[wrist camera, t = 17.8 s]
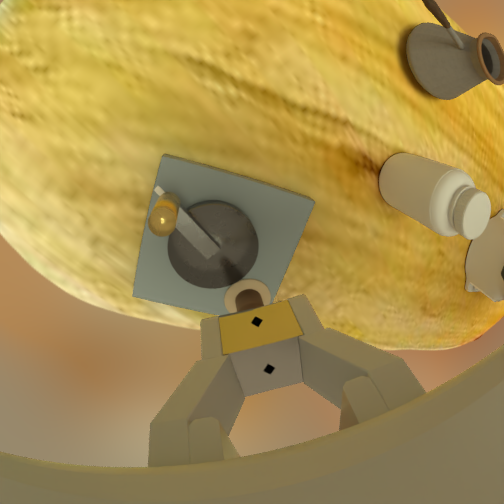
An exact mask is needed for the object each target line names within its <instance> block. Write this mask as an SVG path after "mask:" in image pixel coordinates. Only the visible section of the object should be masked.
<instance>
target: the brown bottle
mask: <svg viewBox="0 0 504 504" xmlns="http://www.w3.org/2000/svg"><path fill="white" fill-rule="evenodd" d="M235 304H236V309H237V312H239V311H243V310H248V309H252V308H257V307H261V306H264V304H263V301H262V298H261V295H260V293H259V292H258V291H256V290H253V289H246V290H243V291H241V292H240V293H238V295H237V296H236V299H235Z"/></svg>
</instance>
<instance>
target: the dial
mask: <svg viewBox="0 0 504 504" xmlns="http://www.w3.org/2000/svg"><path fill="white" fill-rule="evenodd" d="M148 227H149V229H150V231H151V232H152V233H153V234H155V235H157V236H160V237H164V236H168V235H169V239H168V247H167V248H168V256H169V260H170V263H171V265H172V267H173V268H174V270H175V271H176V273H177V274H178V275H179V276H180V277H181V278H183V279H184V280H185V281H187V282H188V283H190V284H192V285H195V286H198V287H202V288H208V289H217V288H223V287H227V286H230V285H232V284H234V283H236V282H238V281H239V280H241V279H242V278H243V277H245V276H246V275H247V274H248V273H249V271H250V270H251V269H252V267H253V266H254V264H255V262H256V259H257V256H258V250H259V242H258V237H257V233H256V231H255V228H254V226H253V224H252V222H251V220H250V219H249V217H248V216H247V215H246V214H245V213H244V212H243V211H242V210H241V209H240V208H238V207H237V206H235V205H233V204H231V203H228V202H225V201H220V200H207V201H202V202H198V203H196V204H193V205H191V206H190V207H188V208H185V207H184V206H183V205H182V204H181V203H180V199H179V197H178V196H177V195H176V194H175V193H173V192H165V193H163V194H162V195H160V197H159V198H158V200H157V202H156V204H155V206H154V208H153V210H152V212H151V214H150V216H149V218H148Z"/></svg>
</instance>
